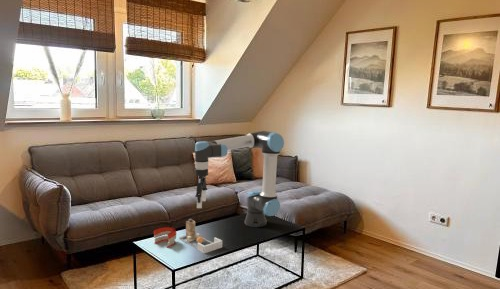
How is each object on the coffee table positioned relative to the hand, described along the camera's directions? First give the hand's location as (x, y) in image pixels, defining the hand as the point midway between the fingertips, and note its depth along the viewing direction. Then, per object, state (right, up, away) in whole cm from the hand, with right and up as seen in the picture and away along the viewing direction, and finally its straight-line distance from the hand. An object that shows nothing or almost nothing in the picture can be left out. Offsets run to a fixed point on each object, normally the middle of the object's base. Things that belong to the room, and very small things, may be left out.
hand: (201, 204), depth 213 cm
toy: (-21, -24, +5) cm, 32 cm away
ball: (-2, -22, +4) cm, 22 cm away
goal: (+5, -25, -2) cm, 25 cm away
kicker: (-8, -23, +11) cm, 27 cm away
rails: (-4, -24, +7) cm, 25 cm away
